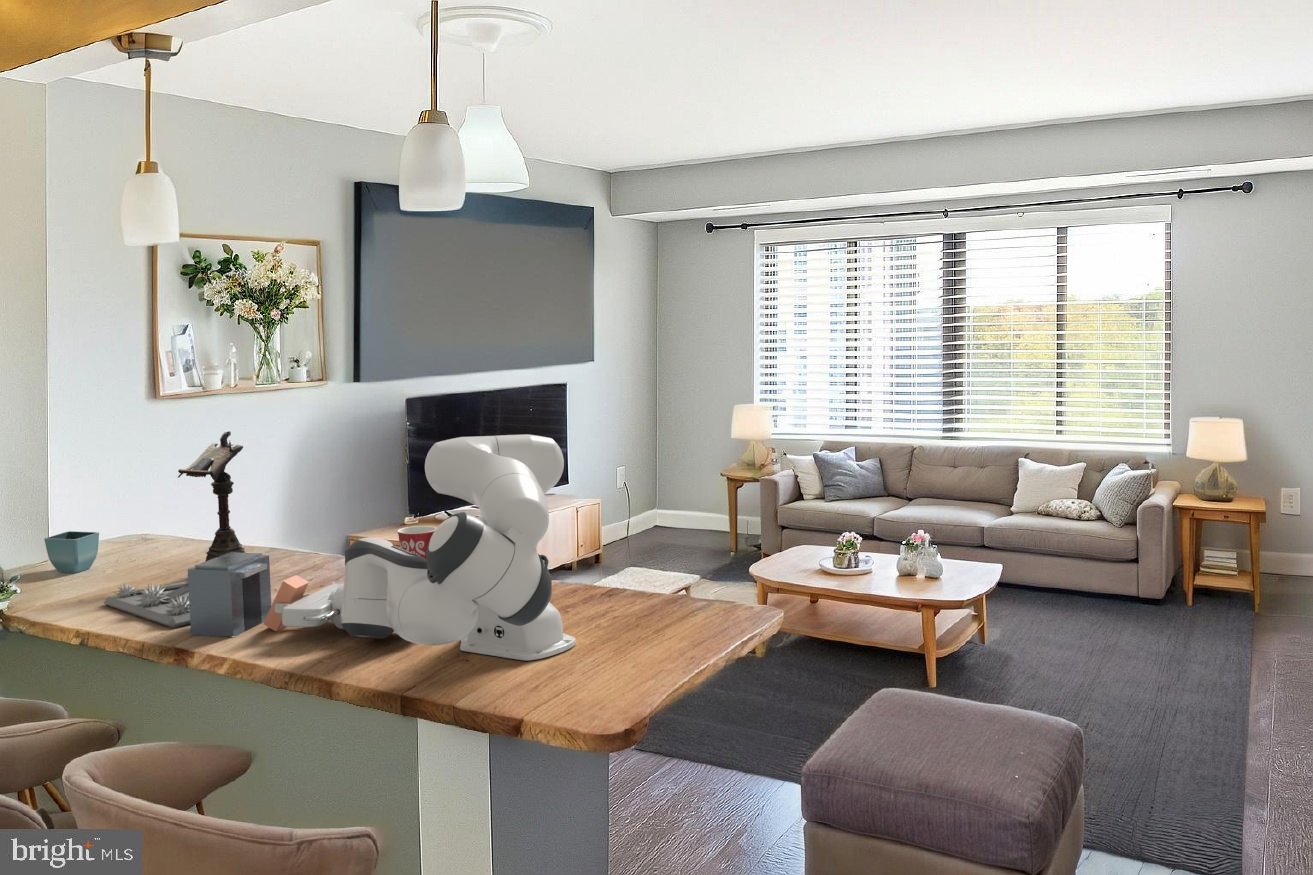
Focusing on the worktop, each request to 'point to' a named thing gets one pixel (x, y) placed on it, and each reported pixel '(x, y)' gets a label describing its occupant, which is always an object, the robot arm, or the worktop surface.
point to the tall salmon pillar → (285, 600)
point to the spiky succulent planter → (155, 603)
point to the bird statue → (218, 492)
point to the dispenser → (229, 594)
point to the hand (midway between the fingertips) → (285, 603)
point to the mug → (415, 539)
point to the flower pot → (72, 550)
